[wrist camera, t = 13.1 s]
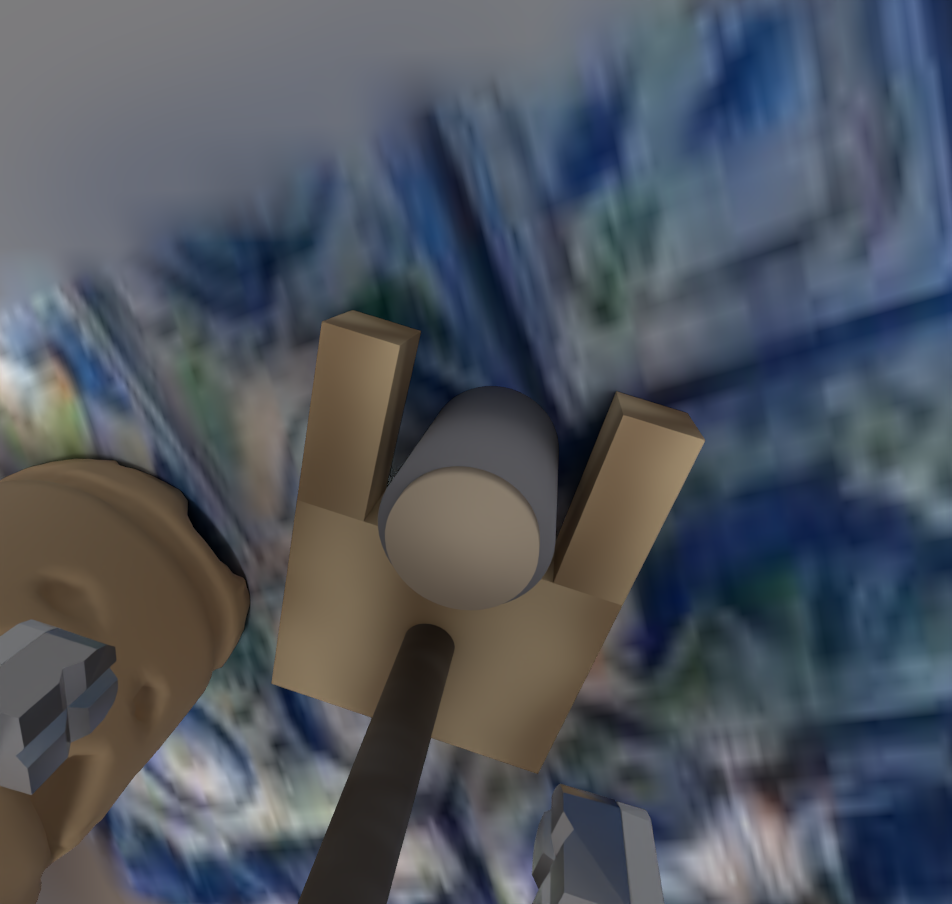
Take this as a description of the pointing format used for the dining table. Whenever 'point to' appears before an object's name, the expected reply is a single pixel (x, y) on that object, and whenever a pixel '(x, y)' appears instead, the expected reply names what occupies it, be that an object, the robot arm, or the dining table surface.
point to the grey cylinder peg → (475, 502)
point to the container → (108, 633)
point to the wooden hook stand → (438, 627)
